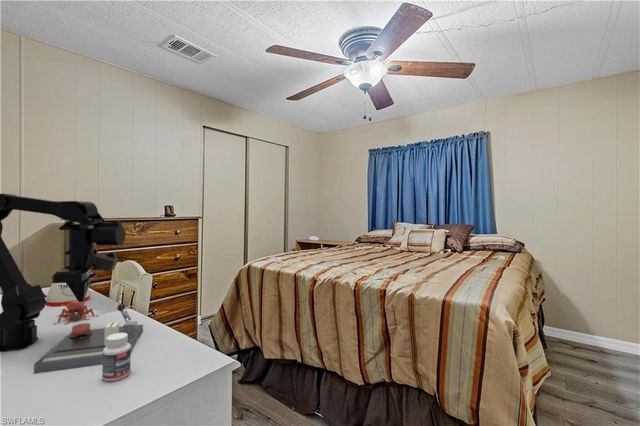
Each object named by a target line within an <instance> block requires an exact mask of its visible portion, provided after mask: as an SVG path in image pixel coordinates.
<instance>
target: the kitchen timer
mask: <svg viewBox="0 0 640 426" xmlns="http://www.w3.org/2000/svg"><path fill="white" fill-rule="evenodd" d="M67 265H68V264H66V265H65V266H67ZM61 270H64V269H63V268H62V267H61V268H60V271H61ZM56 272H58V271H56ZM56 272H55V273H56ZM58 285H62V289H61V286H58ZM63 285H65V286H66V285H67V284H66V283H51V285H50V287H49V290H48V292H47V294H46V296H47V297H45V299H46V305H45V306H47V307H66V306H67V304H68V303H70V302H73V301H75V300H77V299H76V297H75V295H74V294H73V292H72V291H71V289H70V288H69V286H68V285H67V288H66V287H65V289H63ZM89 300H91V291H90V288H89V287H88V290H87V293H86V296H85V300H84V302H85V303H86V302H87V301H89ZM65 305H66V306H65Z"/></svg>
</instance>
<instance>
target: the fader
mask: <svg viewBox="0 0 640 426" xmlns="http://www.w3.org/2000/svg"><path fill="white" fill-rule="evenodd" d="M119 327H120V322H110V323H107V324H106V325H105V326H104V328H105V346H108V345H107V343H106V341H107V337H108V336H110V335H112V334H116V333H119Z"/></svg>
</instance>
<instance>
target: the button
mask: <svg viewBox="0 0 640 426" xmlns="http://www.w3.org/2000/svg"><path fill="white" fill-rule="evenodd" d="M90 330H91V324H90V323H89V322H85V323H78V324H75V325H73V326H71V332H72V335H73V336H79V335H84V334H87V333H89V332H90Z"/></svg>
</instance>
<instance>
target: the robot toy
mask: <svg viewBox="0 0 640 426" xmlns="http://www.w3.org/2000/svg"><path fill="white" fill-rule="evenodd" d="M58 286H61V289H62V285H58ZM89 286H92V280H91V281H90V284H89ZM65 287H66V288H67V285H66V286H65V285H63V289H65ZM85 303H86V301H85V302H84V301H83V302H78V300H75V301H73V302H70V303H68V304H67V306H66V305H65V306H64V307H65V308H62V310H61V313H60V314H59V315H57V316H56V317H58V319H57V322H56V323H54V322H53V323H52V325H57V324H59V323H60V322H61V320H62V318H63V319H67V322H65V323H64V325H69V323H70V320H71V319H73V318H74V316H75V315H76V313H77V315H78V316H79V317H83V318H84V320H85V321H90V320H91V319H90V318H87V315H88V314H90V313H91V315H92V317H97V318H99V314H97V315H95V313H94V311H93V308H88V304H86V305H85Z"/></svg>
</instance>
